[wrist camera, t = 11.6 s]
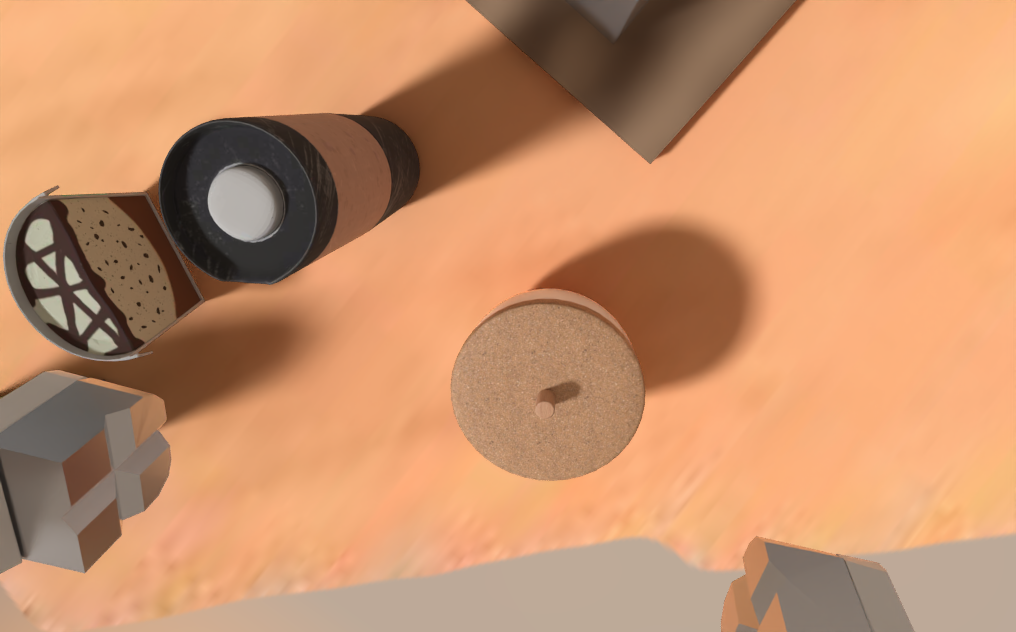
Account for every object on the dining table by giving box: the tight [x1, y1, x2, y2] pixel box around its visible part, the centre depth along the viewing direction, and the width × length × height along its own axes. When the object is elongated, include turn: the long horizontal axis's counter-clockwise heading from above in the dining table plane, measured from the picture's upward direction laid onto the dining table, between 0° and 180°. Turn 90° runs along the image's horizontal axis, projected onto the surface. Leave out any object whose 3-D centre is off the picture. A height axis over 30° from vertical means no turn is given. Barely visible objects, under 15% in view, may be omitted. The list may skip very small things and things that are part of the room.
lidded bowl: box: [451, 288, 645, 481], centre depth 45 cm, size 13×13×11 cm
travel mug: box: [159, 113, 420, 285], centre depth 38 cm, size 8×8×20 cm
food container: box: [3, 186, 205, 361], centre depth 47 cm, size 12×6×10 cm, turn 22°
